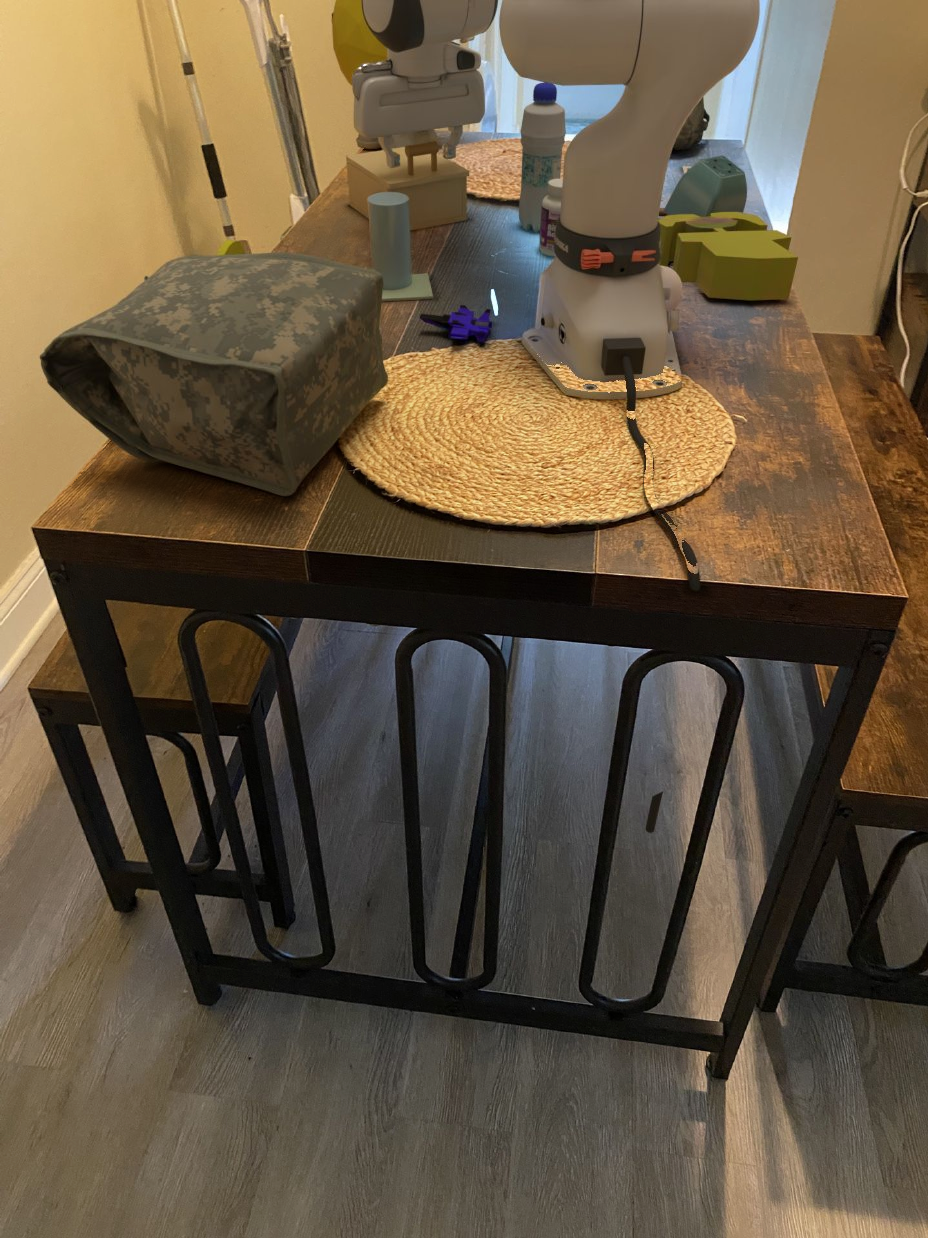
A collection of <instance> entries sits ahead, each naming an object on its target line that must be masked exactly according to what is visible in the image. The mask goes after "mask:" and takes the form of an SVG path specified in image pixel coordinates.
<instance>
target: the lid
mask: <svg viewBox="0 0 928 1238" xmlns="http://www.w3.org/2000/svg"><path fill="white" fill-rule="evenodd" d="M392 150H393V152H396V153H397V154H399V155H400V161H399V162H400V167H395V168H389V167H388V166H387V161H386V153H385V152H384V150H382V149H381V150H375V151H369V152H361V153H355V154H349V155H345V160H346V163H347V162H349V163H350V164H352V165H353V166H355V167H356V168H358V169H359V170H361V171H362V172H364V173H366V174H367V175H369V176H370V177H372V178H373V179H375V180H376V181H378V182H379V183H381V184H382V185H384V186H385V187H387V188H388V189H395V188H401V187H407V186H413V185H418V184H424V183H430V182H436V181H442V180H448V179H454V178H460V177H466V176H467V177H470V170H469V169H467V168H465V167H463V166H461V165H460V164H458V163H456V162H454V161H452V160H451V159H446V158H443V155H441V154H440V153H439V151H440V146H439V142H438V143H437V141H433V142H426V143H420V144H413V145H406V146H405V147H400V148H394V149H392Z"/></svg>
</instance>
